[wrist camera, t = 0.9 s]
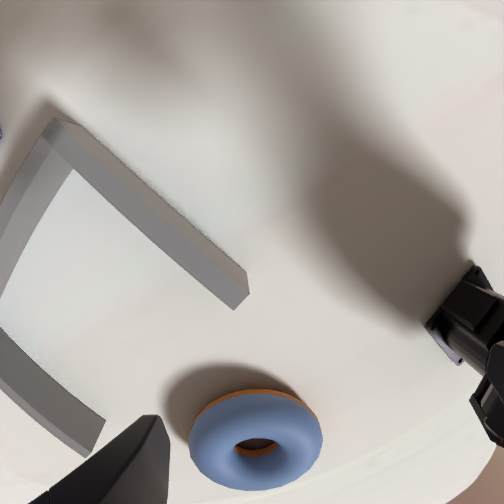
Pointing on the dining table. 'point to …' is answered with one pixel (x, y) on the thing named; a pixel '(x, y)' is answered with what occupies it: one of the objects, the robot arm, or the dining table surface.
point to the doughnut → (255, 426)
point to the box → (138, 213)
